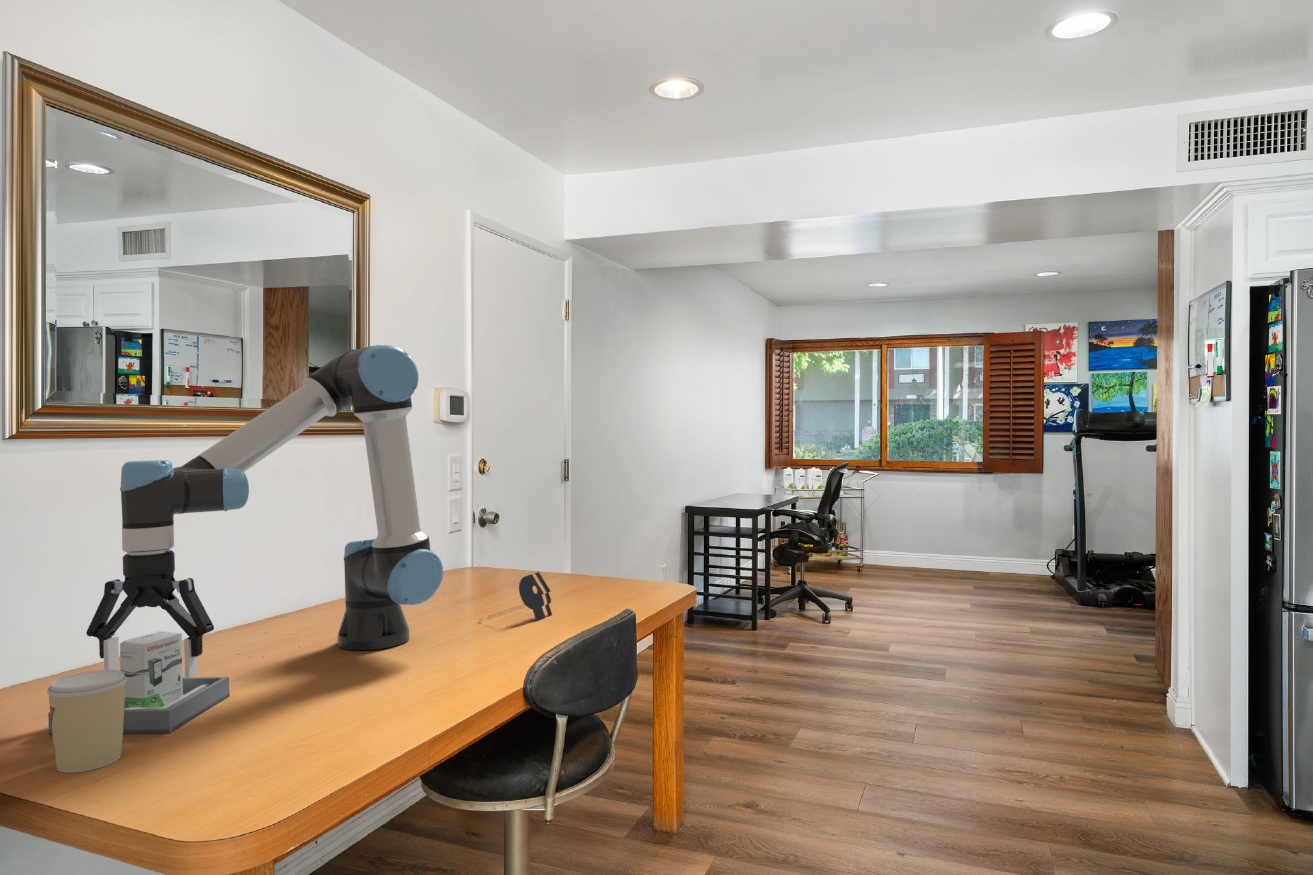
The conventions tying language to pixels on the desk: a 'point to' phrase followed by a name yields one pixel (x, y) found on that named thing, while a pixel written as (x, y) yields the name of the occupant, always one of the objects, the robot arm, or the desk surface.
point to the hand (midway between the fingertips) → (151, 676)
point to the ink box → (152, 669)
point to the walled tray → (175, 707)
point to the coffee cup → (87, 719)
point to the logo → (533, 596)
